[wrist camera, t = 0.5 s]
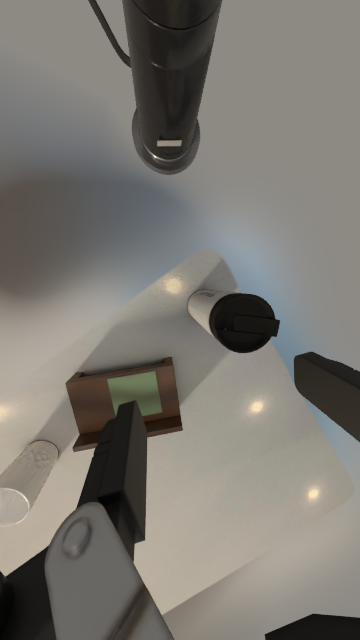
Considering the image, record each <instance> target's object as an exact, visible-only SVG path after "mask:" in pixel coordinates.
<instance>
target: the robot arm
mask: <svg viewBox="0 0 360 640" xmlns="http://www.w3.org/2000/svg"><path fill="white" fill-rule="evenodd" d="M88 1H89V3H90V4H91V6H92V8H93V10H94V12H95V14H96V16H97V17H98V19H99V21H100V23H101V25H102V27H103V29H104V31H105V33H106V35H107V37H108V39H109V40H110V43H111V44H112V46H113V48H114V49H115V51H116V53H117V54H118V56H119V57H120V59H121V60H122V61H123V62H124V63H125V64H126V65H127V66H129V67H130V68H132V76H133V83H134V91H135V98H136V105H137V114H138V121H139V133H140V138H141V141H142V144H143V146H144V148H145V149H146V151H147V152H148V153H149V154H150V155H151V156H152V157H153V158H155V159H156V160H158V161H160V162H164V163H173V162H176V161H179V160H181V159H182V158H183V157H184V156H185V155H186V154H187V153H188V151H189V150H190V148H191V145H192V141H193V137H194V129H195V125H196V121H197V116H198V111H199V106H200V102H201V97H202V93H203V88H204V83H205V79H206V74H207V69H208V64H209V60H210V55H211V51H212V46H213V42H214V36H215V32H216V27H217V22H218V18H219V12H220V8H221V4H222V0H122V2H123V9H124V16H125V23H126V31H127V38H128V46H129V53H130V57H129V56H127V55H126V54H125V53H124V51H123V50H122V49H121V47H120V46H119V44H118V42H117V40H116V39H115V37H114V35H113V33H112V31H111V29H110V27H109V25H108V23H107V21H106V19H105V17H104V15H103V13H102V11H101V9H100V8H99V6H98V4H97V2H96V0H88ZM294 381H295V386H296V388H297V390H298V391H299V393H300V394H301V395H302V396H304V397H305V398H306V399H308V400H309V401H310V402H311V403H312V404H313V405H315V406H316V407H317V408H318V409H320V410H321V411H322V412H323V413H325V414H326V415H327V416H328V417H329V418H331V419H332V420H333V421H335V422H336V423H337V424H338V425H339V426H341V427H342V428H343V429H344V430H346V431H347V432H348V433H349V434H350V435H352V436H353V437H354V438H355V439H356V440H358V441H359V442H360V372H359V371H357V370H354V369H353V368H351V367H349V366H347V365H345V364H343V363H340V362H337V361H333V360H329V359H326V358H324V357H322V356H320V355H318V354H316V353H314V352H308V353H304V354H301V355H297V356H295V358H294ZM146 473H147V432H146V427H145V424H144V421H143V418H142V414H141V411H140V408H139V405H138V403H137V401H136V400H134V401H130V402H127V403H123V404H120V405H119V406H118V410H117V414H116V418H114V419H110V420H108V422H107V423H106V425H105V426H104V427H103V429H102V430H101V432H100V435H99V439H98V442H97V446H96V448H95V451H94V457H93V458H92V461H91V464H90V467H89V470H88V474H87V477H86V480H85V483H84V486H83V489H82V493H81V496H80V499H79V502H78V505H77V508H76V510H74V511H73V512H72V513H71V514H70V515H69V516H68V517H67V518H66V519H65V520H64V522H63V523H62V524H61V525H60V527H59V528H58V530H57V531H56V533H55V535H54V537H53V538H52V541H51V543H50V545H49V546H47V547H46V548H45V549H44V550H42V551H41V552H40V553H38V554H37V555H35V556H34V557H33V558H31V559H30V560H28V561H27V562H26V563H24V564H23V565H21V566H20V567H19V568H17V569H16V570H14V571H13V572H12V573H10V574H9V575H7V576H6V577H5V576H4V575H3V574H2V573H1V571H0V640H174V638H173V636H172V634H171V632H170V630H169V629H168V627H167V625H166V623H165V621H164V619H163V617H162V615H161V613H160V611H159V609H158V608H157V606H156V604H155V602H154V600H153V598H152V596H151V594H150V593H149V591H148V589H147V588H146V586H145V584H144V582H143V581H142V579H141V577H140V575H139V573H138V571H137V569H136V567H135V565H134V563H133V561H134V545H135V543H138V542H141V541H144V540H145V518H146ZM265 639H266V640H360V618H356V617H345V616H333V615H321V614H312V615H309V616H307V617H304V618H302V619H300V620H297V621H295V622H293V623H290V624H288V625H286V626H283V627H281V628H279V629H276V630H274V631H272V632H269V633H267V634H265Z"/></svg>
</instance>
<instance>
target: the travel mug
mask: <svg viewBox="0 0 360 640" xmlns="http://www.w3.org/2000/svg"><path fill="white" fill-rule="evenodd" d="M188 311H189V313H190V315H191V316H192V317H193V318H194V319H195V320H196V321H197V322H198V323H199V324H200V325H201V326H203V327H204V328H205V329H206V330H207V331H208V332H209V333H210V334H211V335H212V336H213V337H214V338H215V339H216V340H218V341H219V342H220V343H221V344H222V345H223V346H225V347H226V348H228V349H229V350H231V351H234V352H238V353H249V352H253V351H256V350H258V349H260V348H261V347H263V346H264V345H265V344H266V343H267V342H268V341H269V340H270V338H271V337H272V336H275V337H276V336H277V333H278V329H279V324H280V320H276V319H275V315H274V312H273V310H272V308H271V306H270V305H269V304H268V303H267V301H265V300H264V299H263V298H261V297H259V296H256V295H252V294H242V293H236V292H222V291H208V290H200V291H197V292H195V293H194V294H192V295H191V297H190V298H189V300H188Z"/></svg>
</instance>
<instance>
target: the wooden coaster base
mask: <svg viewBox="0 0 360 640" xmlns="http://www.w3.org/2000/svg"><path fill="white" fill-rule="evenodd" d="M66 387H67V391H68V394H69V398H70V401H71V405H72V409H73V412H74V416H75V419H76V423H77V426H78V430H79V434H80V435H79V437H78V439H77V440H76V442H75V444H74V446H73V451H74V452H77V451H82V450H87V449H92V448H96V446H97V442H98V439H99V435H100V432H101V430H102V429H103V427H104V426H105V425H106V423H107V422H108V420H110V419H114V418H116V414H117V410H118V406H119V405H120V404H123V403H127V402H130V401H134V400H136V401H137V403H138V405H139V408H140V411H141V414H142V418H143V421H144V424H145V427H146V432H147V437H152V436H157V435H162V434H167V433H172V432H177V431H182V430H183V428H182V422H181V415H180V409H179V402H178V395H177V389H176V382H175V376H174V369H173V362H172V357H170V358H164V363H162V364H157V365H151V366H145V367H139V368H133V369H127V370H121V371H115V372H109V373H104V374H98V375H92V376H86V377H84V373H83V372H81V373H75V374H74V375H73V376H72V377H71V378H70V379H69V380H68V381H67V382H66Z"/></svg>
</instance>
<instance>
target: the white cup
mask: <svg viewBox="0 0 360 640" xmlns="http://www.w3.org/2000/svg"><path fill="white" fill-rule="evenodd" d="M57 458H58V450H57V448H56V446H55V445H53V444H52V443H51V442H47V441H43V440H42V441H35V442H33V443H31V444H30V445H28V446H27V448H26V449H25V450H24V451H23V452H22V453H21V454H20V455H19V456H18V457H17V458H16V459H15V460H14V461H13V462H12V463H11V464H10V465H9V467H8V468H7V469H6V470H5V471H4V472H3V473H2V474H1V475H0V526H11V525H15V524H17V523H19V522H21V521H22V520H24V519H25V518H26V517H27V515H28V513H29V512H30V510H31V508H32V506H33V504H34V502H35V500H36V499H37V497H38V495H39V493H40V491H41V489H42V488H43V486H44V484H45V482H46V480H47V478H48V476H49V474H50V472H51V469H52V467H53V466H54V464H55V462H56V460H57Z"/></svg>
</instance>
